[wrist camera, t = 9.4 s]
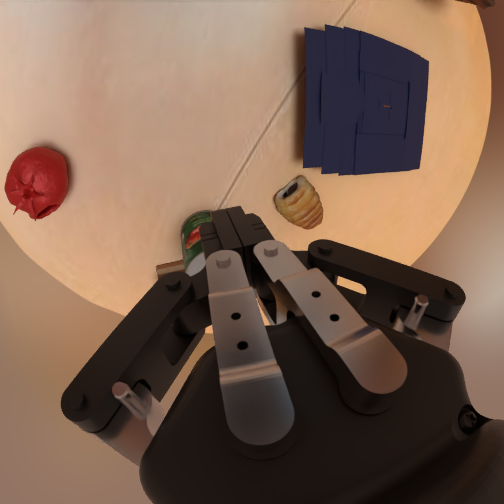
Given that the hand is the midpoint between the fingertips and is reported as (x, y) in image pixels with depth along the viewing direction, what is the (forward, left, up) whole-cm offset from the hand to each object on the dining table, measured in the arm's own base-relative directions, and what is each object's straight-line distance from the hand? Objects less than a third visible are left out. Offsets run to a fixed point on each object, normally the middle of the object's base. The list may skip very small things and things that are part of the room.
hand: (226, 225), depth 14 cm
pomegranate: (-1, -22, -26) cm, 34 cm away
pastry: (+12, +16, -26) cm, 33 cm away
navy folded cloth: (-4, +30, -26) cm, 40 cm away
